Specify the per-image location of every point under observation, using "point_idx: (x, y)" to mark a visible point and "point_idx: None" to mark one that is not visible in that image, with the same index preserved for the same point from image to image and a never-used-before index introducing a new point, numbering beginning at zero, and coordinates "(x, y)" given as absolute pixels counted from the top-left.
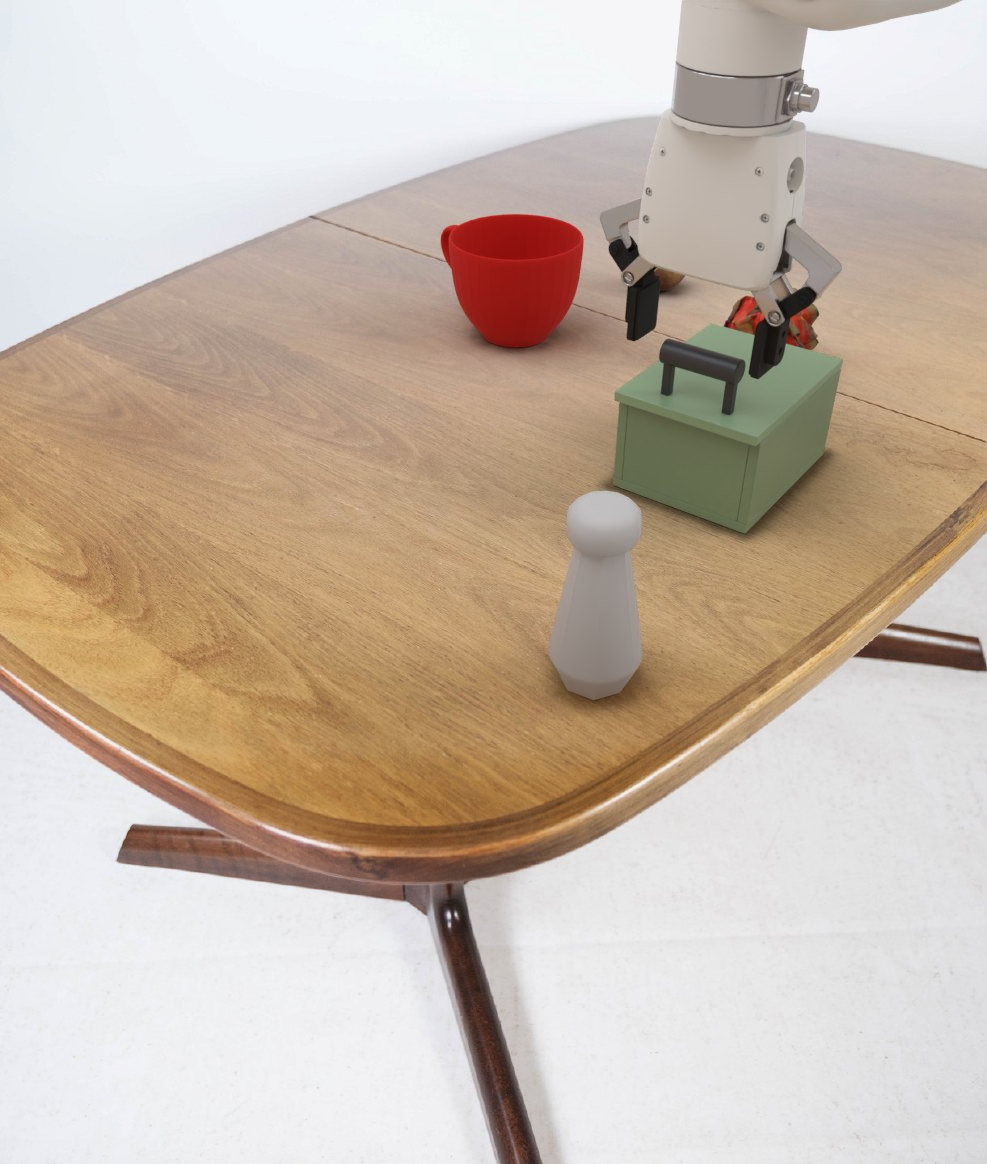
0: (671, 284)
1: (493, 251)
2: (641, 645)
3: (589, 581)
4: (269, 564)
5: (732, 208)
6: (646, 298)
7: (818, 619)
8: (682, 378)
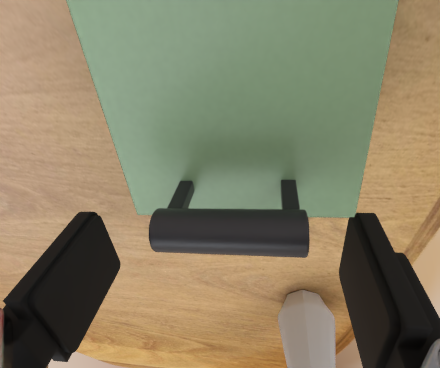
0: None
1: None
2: (332, 321)
3: None
4: (107, 305)
5: None
6: (75, 315)
7: (430, 201)
8: (172, 133)
